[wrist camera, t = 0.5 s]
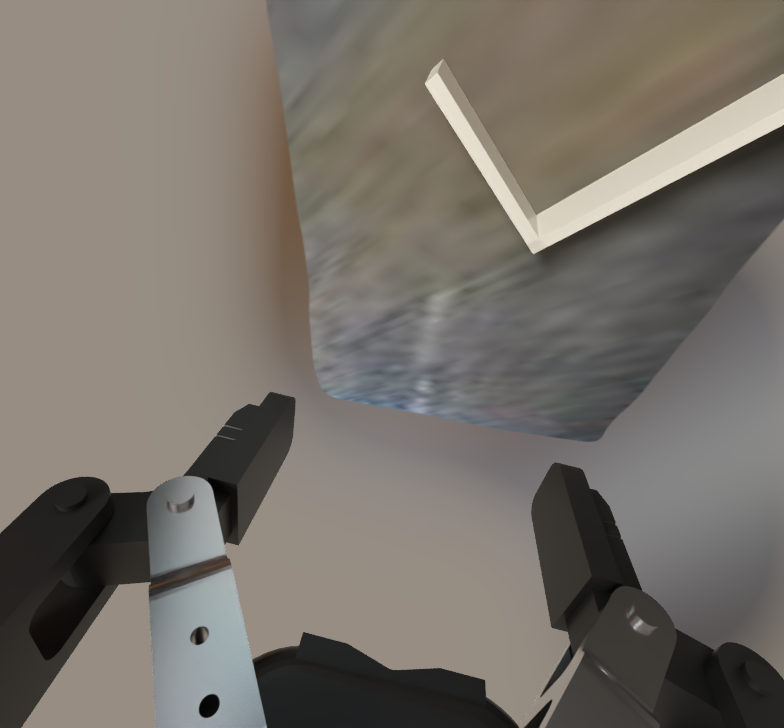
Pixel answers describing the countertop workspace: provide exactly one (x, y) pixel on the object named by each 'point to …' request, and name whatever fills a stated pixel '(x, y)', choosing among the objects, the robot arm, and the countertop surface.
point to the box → (622, 186)
